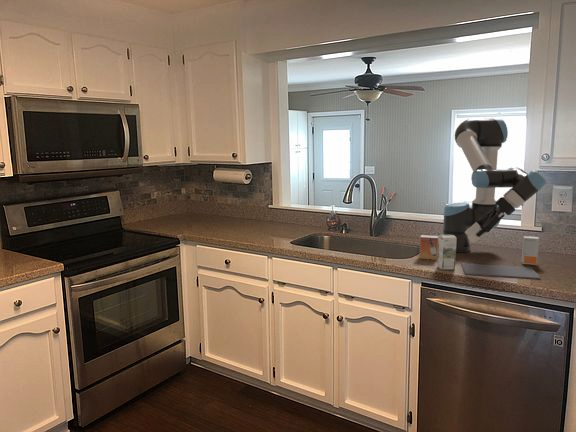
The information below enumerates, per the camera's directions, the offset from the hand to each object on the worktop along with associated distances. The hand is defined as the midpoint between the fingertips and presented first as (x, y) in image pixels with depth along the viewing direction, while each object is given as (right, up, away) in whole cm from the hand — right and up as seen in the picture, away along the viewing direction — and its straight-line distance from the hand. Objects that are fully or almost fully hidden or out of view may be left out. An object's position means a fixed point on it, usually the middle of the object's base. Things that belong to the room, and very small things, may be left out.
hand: (468, 237), depth 196 cm
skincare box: (+32, -12, +12) cm, 36 cm away
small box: (-10, -11, +23) cm, 28 cm away
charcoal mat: (+13, -14, 0) cm, 19 cm away
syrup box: (-7, -14, +5) cm, 17 cm away
